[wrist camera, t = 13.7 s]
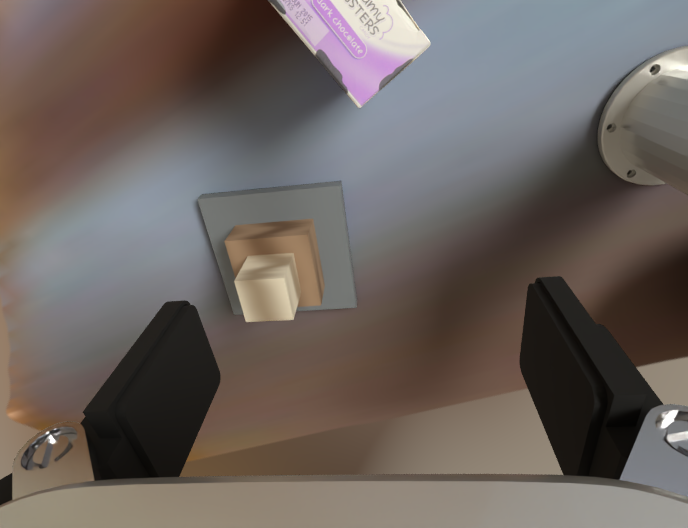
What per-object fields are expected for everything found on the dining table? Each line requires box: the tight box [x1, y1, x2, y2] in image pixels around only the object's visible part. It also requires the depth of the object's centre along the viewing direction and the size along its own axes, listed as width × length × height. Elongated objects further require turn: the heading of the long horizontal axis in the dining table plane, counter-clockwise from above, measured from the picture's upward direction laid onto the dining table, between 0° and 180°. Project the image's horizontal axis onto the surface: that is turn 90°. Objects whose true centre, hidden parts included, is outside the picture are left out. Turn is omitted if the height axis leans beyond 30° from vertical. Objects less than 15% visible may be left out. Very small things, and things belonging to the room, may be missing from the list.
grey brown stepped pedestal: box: [197, 181, 357, 315], centre depth 48 cm, size 16×16×6 cm
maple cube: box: [234, 253, 301, 322], centre depth 43 cm, size 5×5×5 cm
